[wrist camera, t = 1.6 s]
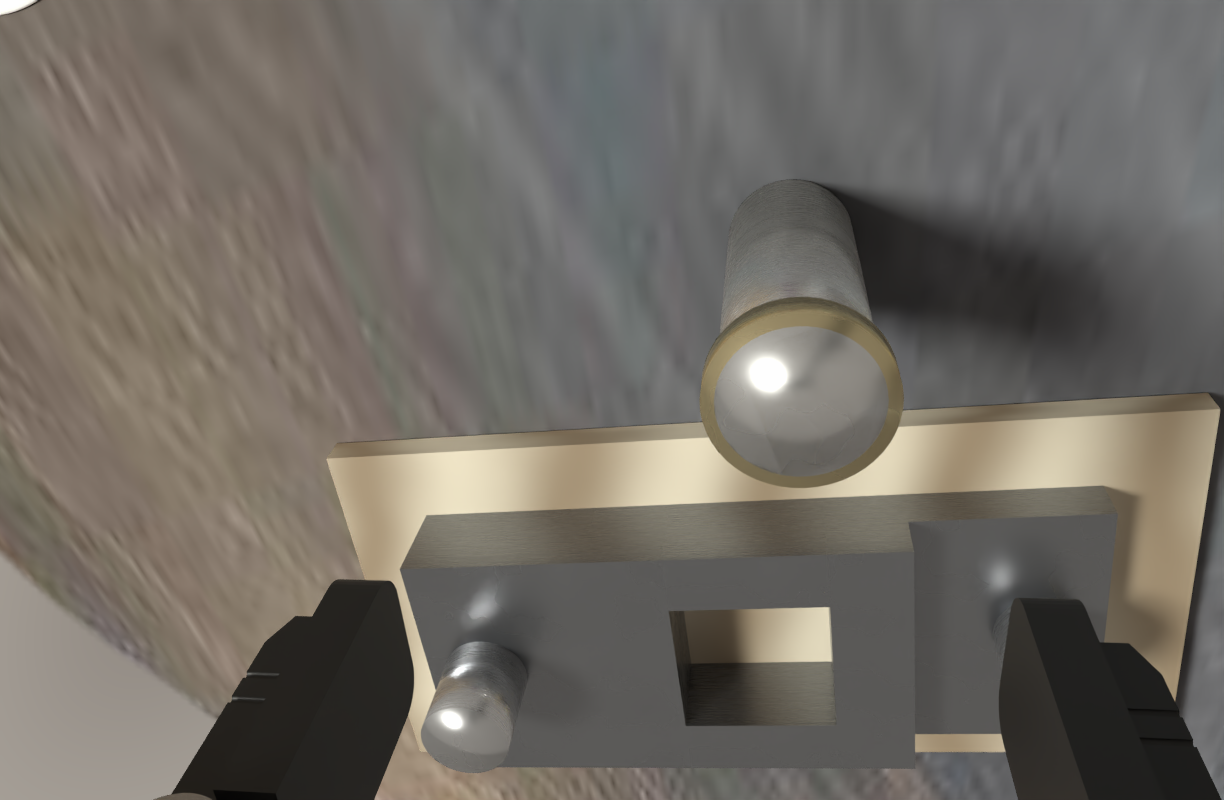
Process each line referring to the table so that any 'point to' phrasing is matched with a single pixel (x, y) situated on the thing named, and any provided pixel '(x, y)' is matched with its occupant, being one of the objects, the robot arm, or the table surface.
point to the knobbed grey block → (727, 580)
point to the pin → (798, 346)
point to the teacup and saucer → (14, 5)
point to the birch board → (911, 464)
